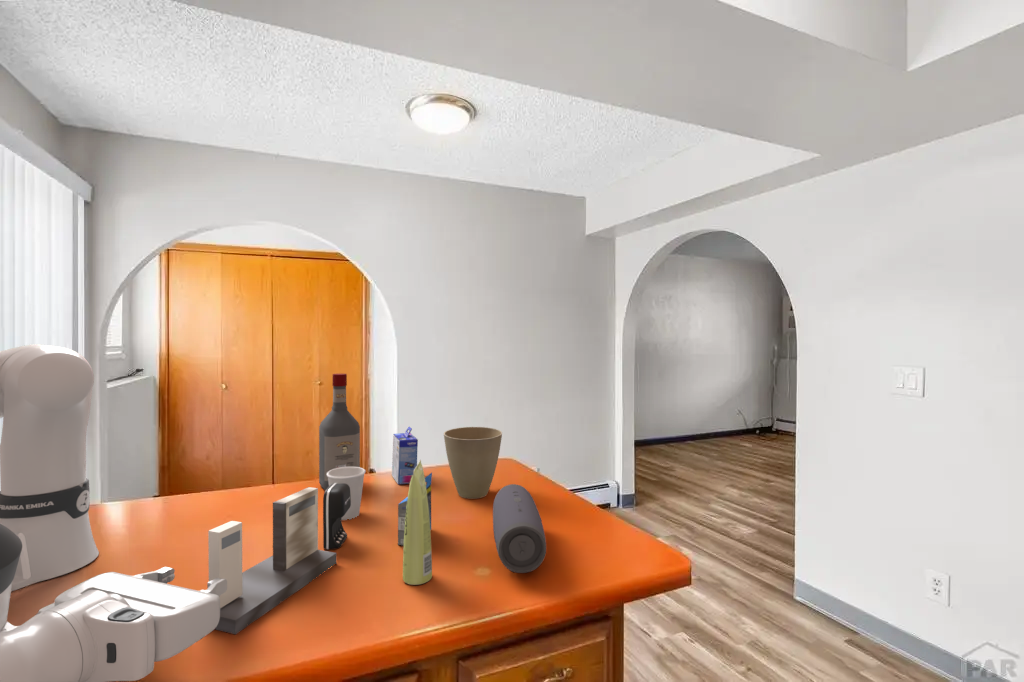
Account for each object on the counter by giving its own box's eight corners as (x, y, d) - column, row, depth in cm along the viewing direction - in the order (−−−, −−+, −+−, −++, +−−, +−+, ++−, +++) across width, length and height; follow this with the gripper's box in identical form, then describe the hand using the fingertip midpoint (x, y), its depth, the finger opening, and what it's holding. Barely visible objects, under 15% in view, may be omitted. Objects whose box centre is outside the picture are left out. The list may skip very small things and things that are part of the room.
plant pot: (444, 485, 136) (444, 427, 135) (499, 484, 137) (499, 426, 137) (442, 505, 121) (442, 439, 121) (504, 503, 123) (504, 438, 122)
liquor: (362, 487, 134) (362, 374, 133) (326, 493, 128) (326, 376, 128) (351, 478, 141) (351, 372, 140) (317, 484, 136) (317, 373, 135)
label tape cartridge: (414, 528, 107) (415, 470, 107) (432, 529, 107) (432, 471, 106) (397, 545, 99) (397, 483, 98) (415, 547, 98) (416, 484, 98)
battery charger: (342, 551, 96) (342, 491, 96) (322, 551, 96) (322, 491, 96) (352, 535, 103) (352, 480, 103) (333, 536, 103) (333, 480, 102)
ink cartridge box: (418, 483, 138) (418, 430, 137) (398, 485, 136) (398, 432, 135) (410, 473, 147) (410, 424, 146) (391, 475, 145) (391, 425, 144)
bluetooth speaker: (549, 580, 86) (550, 522, 86) (495, 581, 85) (495, 523, 85) (534, 527, 109) (535, 481, 108) (491, 527, 108) (491, 481, 108)
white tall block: (219, 608, 72) (219, 532, 72) (208, 606, 73) (208, 530, 72) (242, 594, 76) (242, 522, 76) (231, 592, 77) (231, 520, 76)
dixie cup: (370, 517, 113) (370, 473, 113) (332, 525, 108) (332, 479, 108) (358, 506, 120) (358, 464, 120) (322, 513, 115) (322, 469, 115)
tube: (394, 576, 86) (395, 463, 86) (420, 567, 90) (420, 458, 89) (412, 589, 82) (413, 470, 82) (438, 579, 86) (439, 465, 85)
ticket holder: (235, 634, 70) (234, 539, 70) (181, 620, 73) (180, 529, 73) (336, 563, 91) (336, 490, 90) (291, 555, 94) (290, 484, 94)
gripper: (24, 644, 60) (141, 587, 73) (151, 684, 53) (254, 614, 67) (23, 592, 59) (141, 544, 73) (150, 625, 53) (254, 566, 66)
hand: (196, 578), depth 70 cm, fingers open, 8 cm apart
